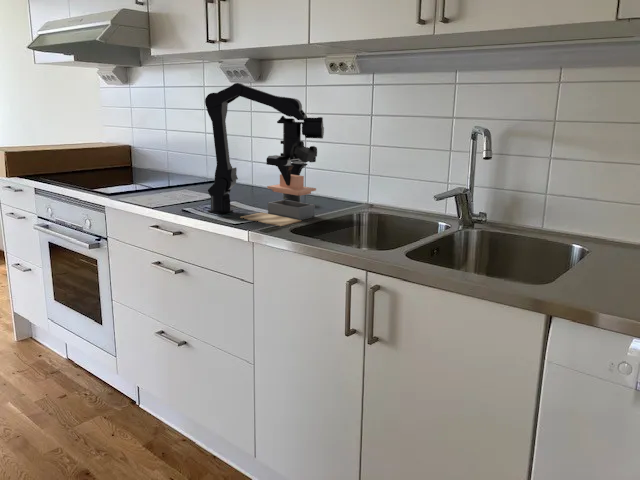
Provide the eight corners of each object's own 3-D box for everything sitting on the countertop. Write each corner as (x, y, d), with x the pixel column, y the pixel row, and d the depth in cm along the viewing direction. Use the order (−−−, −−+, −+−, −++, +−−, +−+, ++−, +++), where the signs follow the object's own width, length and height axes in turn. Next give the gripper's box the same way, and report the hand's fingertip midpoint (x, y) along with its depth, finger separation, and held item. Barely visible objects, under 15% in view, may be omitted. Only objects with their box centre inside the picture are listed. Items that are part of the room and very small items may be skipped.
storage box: (268, 213, 189) (268, 202, 188) (283, 210, 195) (283, 199, 194) (298, 220, 181) (299, 208, 180) (314, 216, 187) (314, 204, 186)
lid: (267, 191, 187) (267, 174, 186) (284, 188, 193) (284, 172, 192) (299, 196, 178) (299, 178, 177) (316, 193, 185) (316, 176, 183)
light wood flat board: (240, 217, 182) (240, 216, 182) (261, 213, 190) (261, 212, 189) (280, 226, 171) (280, 225, 171) (301, 221, 179) (301, 220, 179)
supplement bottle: (290, 200, 214) (291, 169, 212) (304, 203, 210) (304, 171, 207) (278, 203, 209) (278, 171, 206) (292, 205, 205) (292, 173, 202)
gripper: (291, 140, 170) (290, 191, 173) (328, 138, 184) (327, 184, 188) (265, 138, 176) (265, 187, 180) (303, 136, 190) (302, 181, 194)
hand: (291, 185), depth 185 cm, fingers closed on lid, 3 cm apart
